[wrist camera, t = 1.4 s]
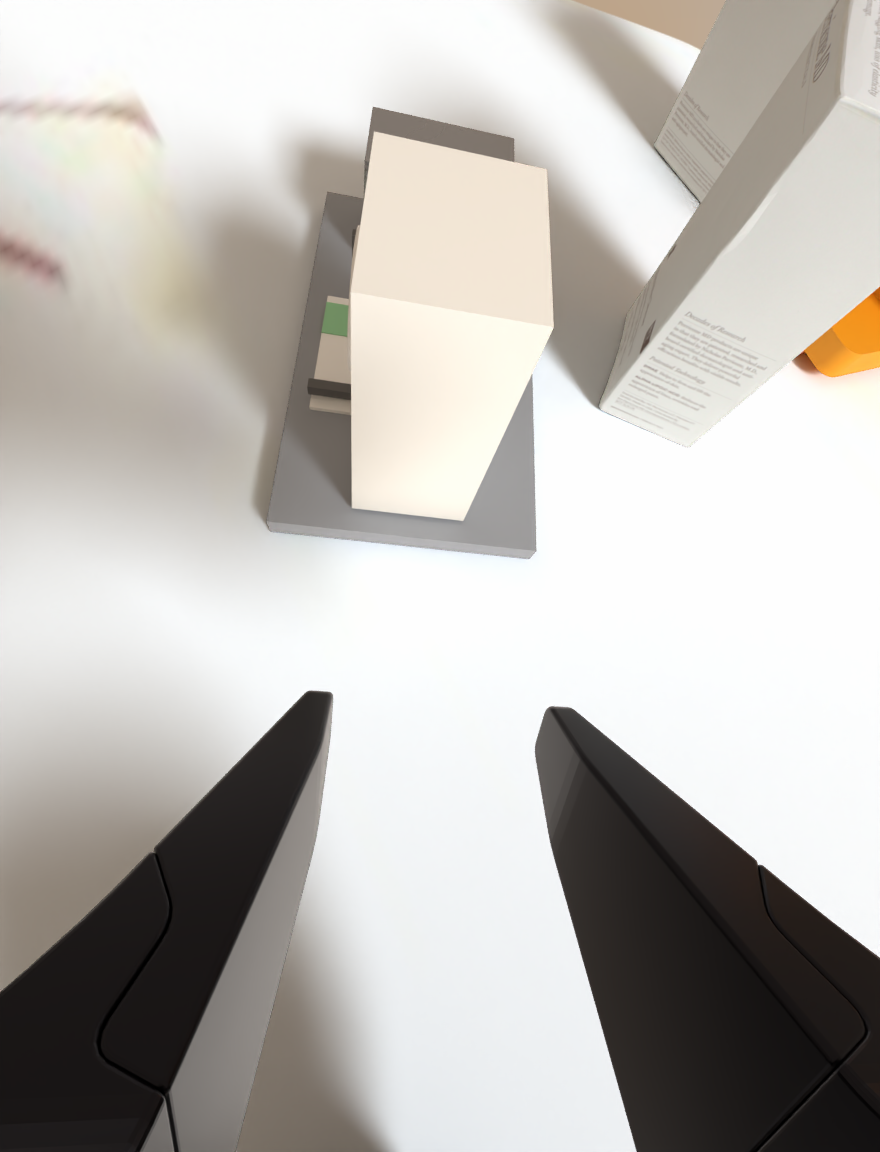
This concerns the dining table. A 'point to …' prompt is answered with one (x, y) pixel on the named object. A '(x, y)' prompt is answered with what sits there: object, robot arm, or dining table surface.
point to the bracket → (850, 341)
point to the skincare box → (765, 244)
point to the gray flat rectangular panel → (323, 436)
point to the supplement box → (734, 83)
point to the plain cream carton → (441, 321)
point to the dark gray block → (437, 135)
